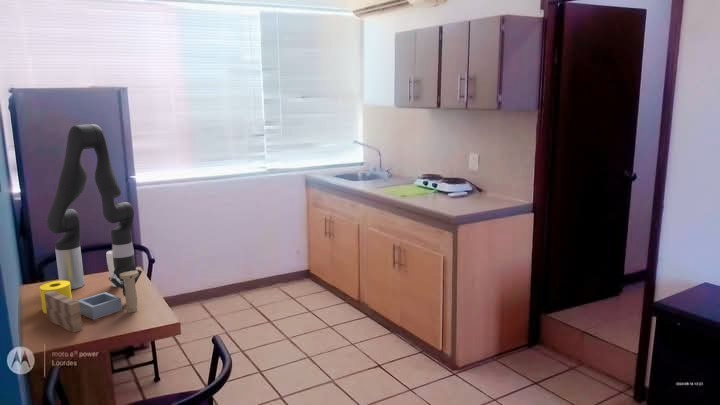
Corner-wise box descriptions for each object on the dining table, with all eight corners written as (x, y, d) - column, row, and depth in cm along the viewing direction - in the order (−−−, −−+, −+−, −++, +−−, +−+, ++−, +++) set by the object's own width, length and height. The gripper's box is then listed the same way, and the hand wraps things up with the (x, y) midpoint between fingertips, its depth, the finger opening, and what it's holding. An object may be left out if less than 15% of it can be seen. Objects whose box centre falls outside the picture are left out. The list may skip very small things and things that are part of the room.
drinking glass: (106, 286, 222) (102, 252, 219) (119, 281, 228) (116, 248, 225) (116, 289, 219) (113, 254, 216) (130, 284, 225) (127, 250, 222)
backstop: (47, 319, 189) (44, 293, 187) (56, 316, 192) (53, 290, 190) (73, 332, 178) (70, 305, 176) (82, 329, 181) (79, 302, 179)
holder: (78, 313, 195) (77, 300, 194) (106, 304, 204) (105, 292, 203) (93, 320, 189) (92, 307, 188) (122, 310, 198) (120, 298, 197)
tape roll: (43, 315, 192) (39, 291, 191) (42, 306, 201) (39, 283, 199) (73, 310, 198) (70, 286, 196) (72, 301, 206) (69, 278, 204)
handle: (121, 311, 196) (118, 273, 193) (139, 307, 200) (136, 269, 197) (125, 315, 192) (121, 276, 189) (143, 311, 196) (139, 273, 193)
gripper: (133, 248, 209) (137, 289, 212) (101, 256, 198) (106, 299, 201) (144, 251, 204) (148, 293, 208) (112, 260, 194) (116, 304, 197)
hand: (127, 296), depth 204 cm, fingers closed
